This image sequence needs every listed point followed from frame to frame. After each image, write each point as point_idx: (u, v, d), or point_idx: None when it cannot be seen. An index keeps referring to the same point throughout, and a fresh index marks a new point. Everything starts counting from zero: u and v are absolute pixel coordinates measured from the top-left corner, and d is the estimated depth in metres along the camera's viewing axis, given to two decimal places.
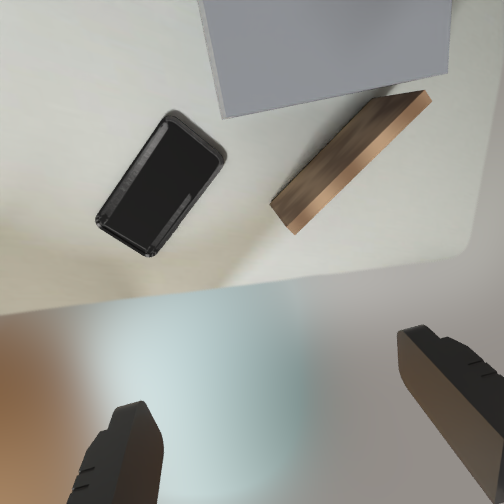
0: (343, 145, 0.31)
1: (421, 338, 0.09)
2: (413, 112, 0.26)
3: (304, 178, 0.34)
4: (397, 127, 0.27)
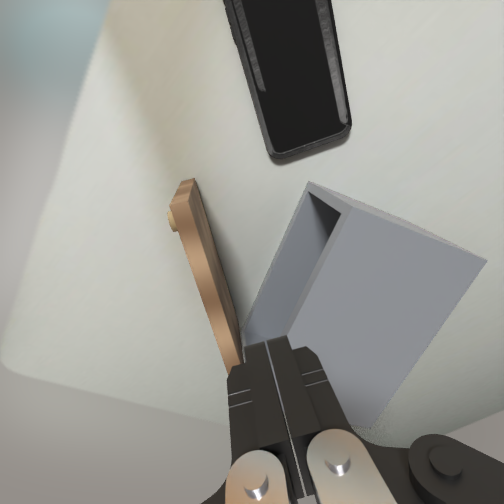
0: (224, 291, 0.28)
1: (277, 347, 0.09)
2: None
3: (209, 235, 0.27)
4: (228, 355, 0.25)
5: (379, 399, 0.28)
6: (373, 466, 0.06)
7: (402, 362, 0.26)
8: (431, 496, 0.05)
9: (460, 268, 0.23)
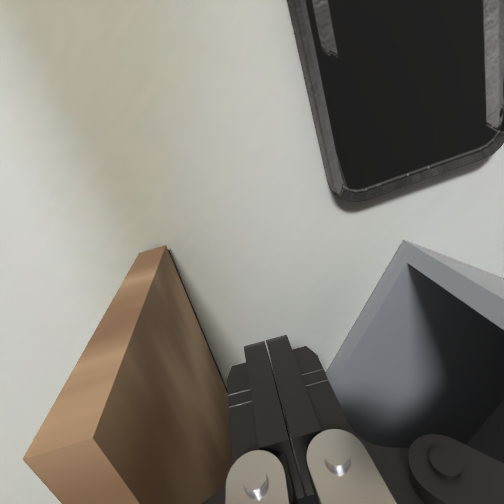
0: None
1: (277, 348, 0.10)
2: None
3: (199, 369, 0.13)
4: None
5: None
6: (373, 466, 0.06)
7: None
8: (431, 496, 0.05)
9: None
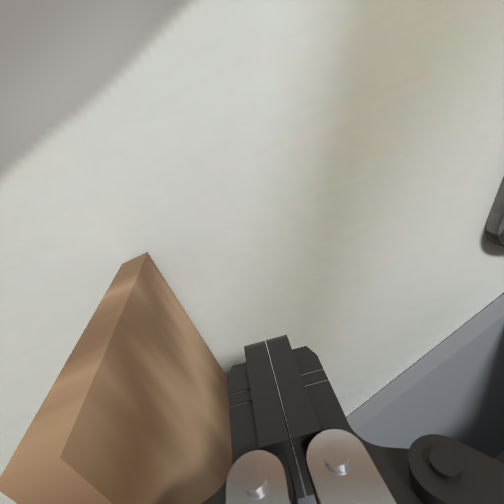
0: None
1: (277, 348, 0.10)
2: None
3: (197, 371, 0.13)
4: None
5: None
6: (373, 466, 0.06)
7: None
8: (431, 496, 0.05)
9: None
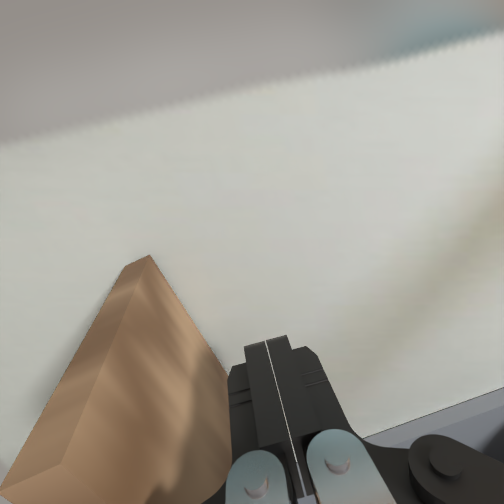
0: None
1: (276, 348, 0.10)
2: None
3: (199, 373, 0.13)
4: None
5: None
6: (373, 466, 0.06)
7: None
8: (431, 496, 0.05)
9: None
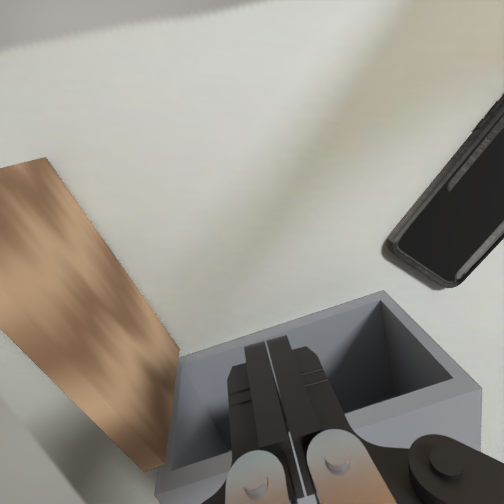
0: (119, 321, 0.18)
1: (277, 348, 0.09)
2: (135, 451, 0.16)
3: (77, 241, 0.17)
4: (117, 431, 0.15)
5: None
6: (373, 466, 0.06)
7: None
8: (431, 496, 0.05)
9: None
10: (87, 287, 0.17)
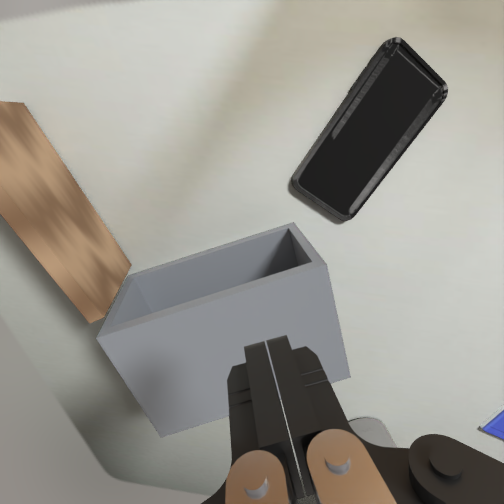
0: (76, 222, 0.25)
1: (277, 348, 0.10)
2: (81, 304, 0.23)
3: (45, 162, 0.24)
4: (67, 285, 0.22)
5: (192, 418, 0.28)
6: (373, 466, 0.06)
7: None
8: (431, 496, 0.05)
9: (333, 367, 0.27)
10: (50, 192, 0.23)
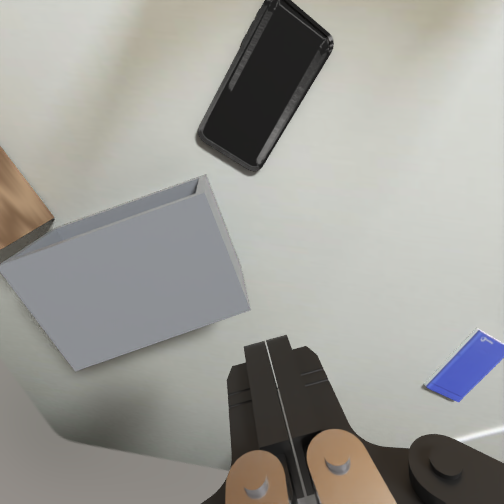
0: None
1: (277, 348, 0.10)
2: None
3: None
4: None
5: (102, 351, 0.30)
6: (373, 466, 0.06)
7: (143, 335, 0.29)
8: (431, 496, 0.05)
9: (232, 299, 0.29)
10: None
